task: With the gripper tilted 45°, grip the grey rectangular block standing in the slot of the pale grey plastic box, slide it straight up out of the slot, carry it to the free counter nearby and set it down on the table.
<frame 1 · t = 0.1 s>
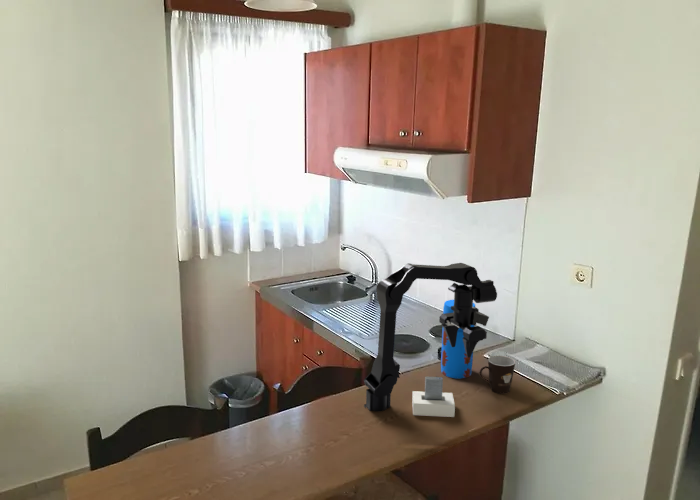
hand: (460, 352, 177), 15 cm above the countertop, tool pointing down, fingers open, 9 cm apart
grey rectangular block: (432, 409, 169), point 1 cm above the countertop, touching slot box
thermos: (456, 372, 197), on the countertop
coffee mug: (495, 389, 184), on the countertop
slot box: (432, 411, 169), on the countertop
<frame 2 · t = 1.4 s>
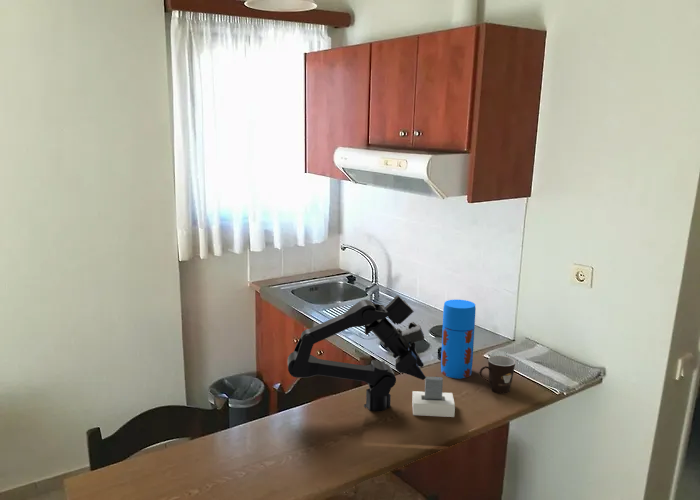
hand: (423, 372, 167), 12 cm above the countertop, tool tilted 45°, fingers open, 9 cm apart
nothing on the countertop moved.
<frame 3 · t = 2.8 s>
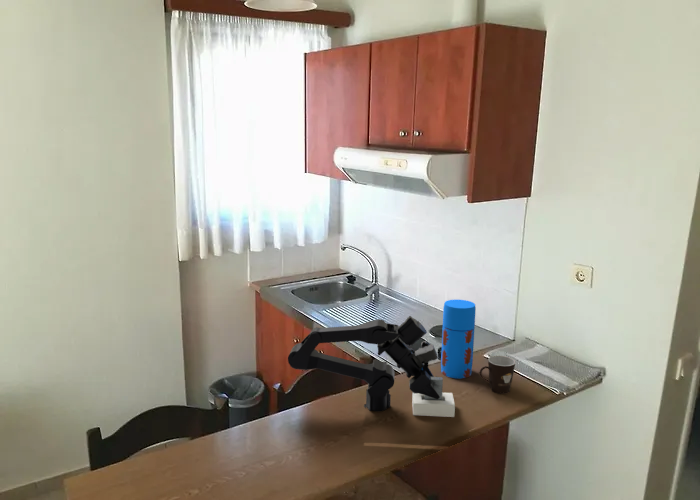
hand: (437, 391, 167), 7 cm above the countertop, tool tilted 45°, fingers open, 9 cm apart
nothing on the countertop moved.
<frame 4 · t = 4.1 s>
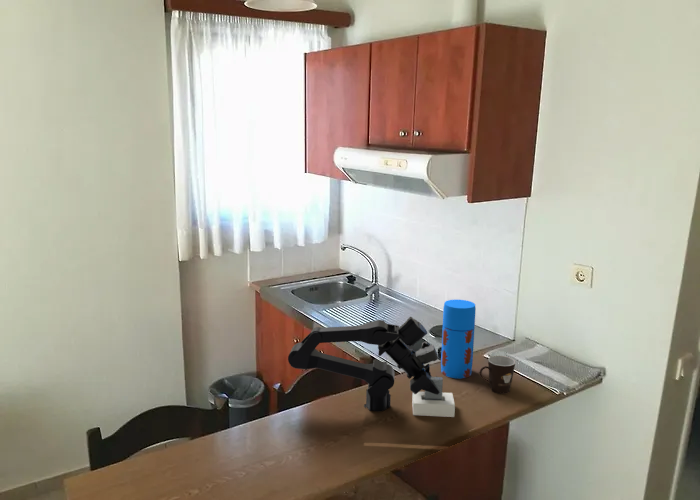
hand: (438, 391, 167), 7 cm above the countertop, tool tilted 45°, fingers closed on grey rectangular block, 2 cm apart
grey rectangular block: (432, 409, 169), point 1 cm above the countertop, touching gripper, slot box
everything else where it was.
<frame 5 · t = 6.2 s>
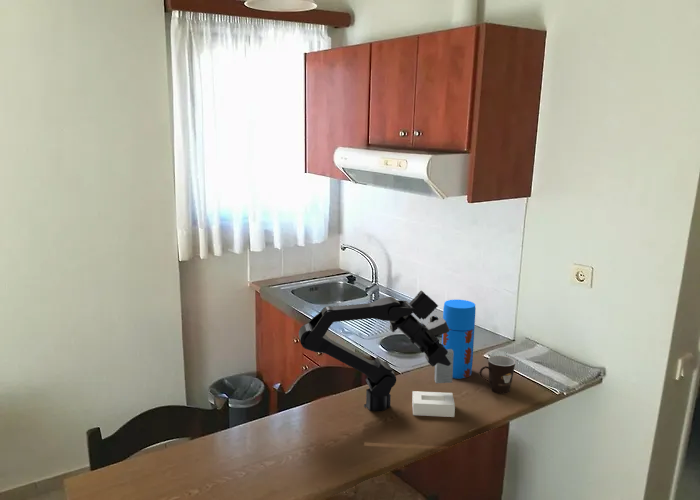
hand: (448, 363, 170), 14 cm above the countertop, tool tilted 45°, fingers closed on grey rectangular block
grey rectangular block: (443, 381, 171), point 8 cm above the countertop, touching gripper
everything else where it was.
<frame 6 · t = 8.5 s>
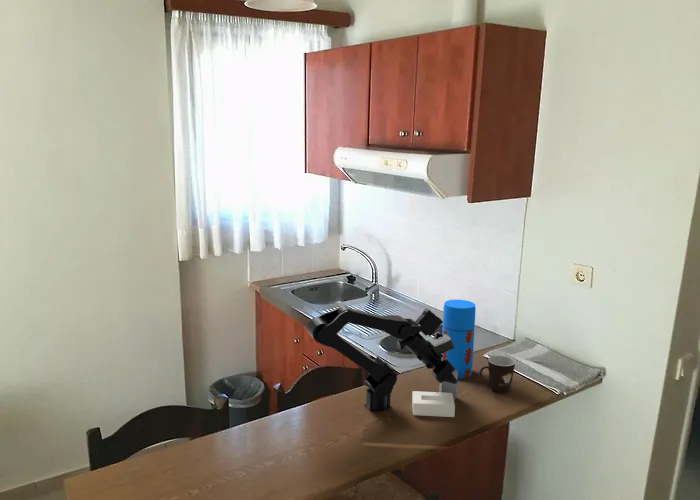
hand: (452, 378, 175), 7 cm above the countertop, tool tilted 45°, fingers open, 6 cm apart
grey rectangular block: (447, 400, 176), on the countertop
everything else where it was.
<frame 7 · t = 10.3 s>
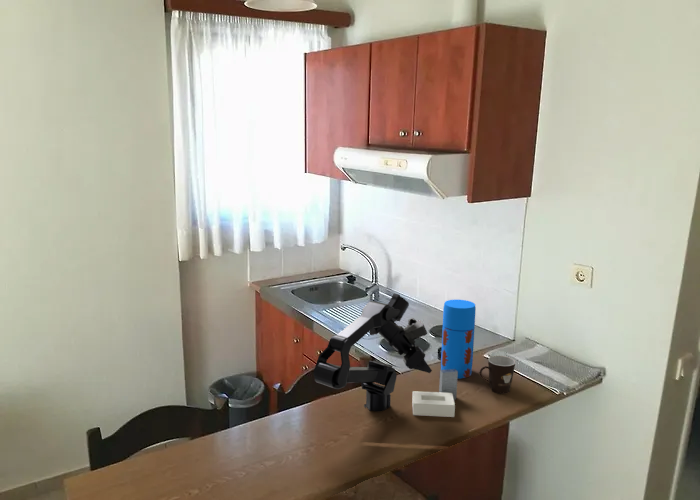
hand: (426, 365, 172), 12 cm above the countertop, tool tilted 45°, fingers open, 9 cm apart
nothing on the countertop moved.
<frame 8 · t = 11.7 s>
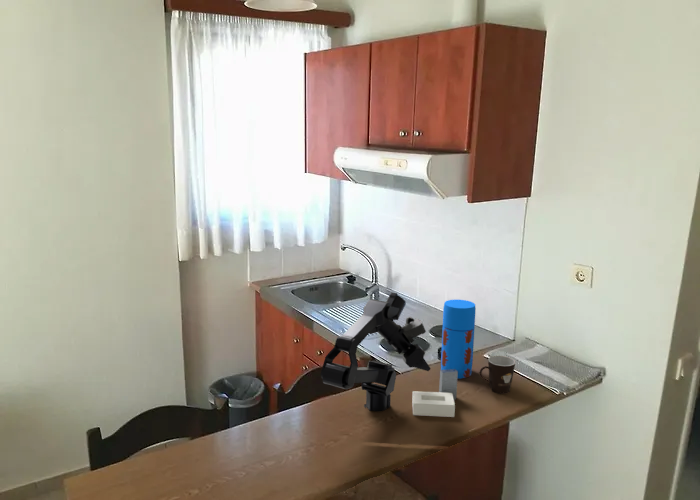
hand: (424, 363, 173), 13 cm above the countertop, tool tilted 45°, fingers open, 9 cm apart
nothing on the countertop moved.
at the end: grey rectangular block moved 9.5 cm from its start; grey rectangular block touching countertop; the gripper is holding nothing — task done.
